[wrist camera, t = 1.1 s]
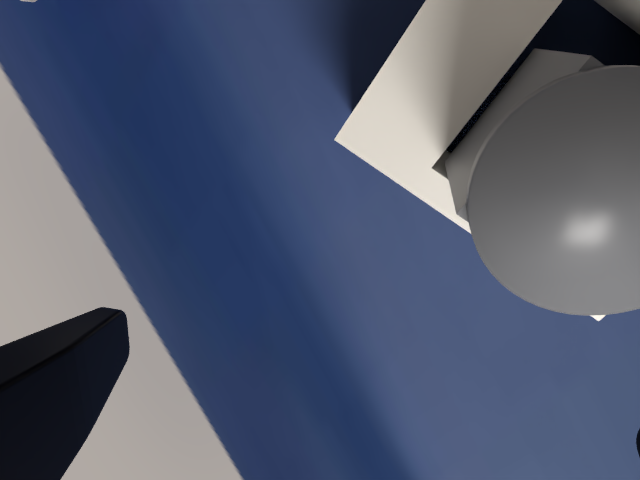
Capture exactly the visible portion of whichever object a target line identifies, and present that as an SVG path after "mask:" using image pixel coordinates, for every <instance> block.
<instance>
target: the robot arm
mask: <svg viewBox="0 0 640 480" xmlns="http://www.w3.org/2000/svg"><path fill="white" fill-rule="evenodd" d="M128 356H129V337H128V327H127V318H126V315H125V313H124V312H123V311H122V310H118V309H111V308H105V307H101V308H97V309H95V310H92V311H90V312H87V313H85V314H82V315H80V316H77V317H75V318H72V319H69V320H67V321H64V322H62V323H59V324H56V325H54V326H52V327H49V328H46V329H44V330H41V331H39V332H36V333H34V334H31V335H28V336H26V337H23V338H21V339H18V340H16V341H13V342H11V343H8V344H5V345H3V346H0V480H60V479H61V478H62V476H63V475H64V473H65V472H66V470H67V469H68V467H69V465H70V464H71V463H72V461H73V459H74V458H75V456H76V455H77V453H78V452H79V450H80V449H81V447H82V445H83V444H84V442H85V441H86V439H87V437H88V435H89V434H90V432H91V430H92V428H93V426H94V424H95V423H96V421H97V419H98V417H99V415H100V413H101V411H102V409H103V407H104V405H105V403H106V401H107V399H108V397H109V395H110V393H111V391H112V389H113V387H114V385H115V383H116V381H117V380H118V378H119V376H120V374H121V372H122V370H123V367H124V365H125V364H126V362H127V359H128ZM636 444H637V450H638V454H639V457H640V429H639V431H638V433H637V438H636Z"/></svg>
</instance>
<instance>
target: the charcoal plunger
mask: <svg viewBox="0 0 640 480" xmlns="http://www.w3.org/2000/svg"><path fill="white" fill-rule="evenodd" d="M445 167H446V171H447V175H448V180H449V184H450V189H451V193H452V197H453V202H454V206H455V210H456V214H457V215H458V216H460V217H461V218H463V219H464V220H466V221H467V222H469V227H470V230H471V234H472V237H473V240H474V243H475V246H476V249H477V251H478V253H479V255H480V257H481V259H482V261H483V263H484V264H485V265H486V267H487V268H488V269H489V271H490V272H491V274H492V275H493V276H494V277H495V278H496V279H497V280H498V281H499V282H500V283H501V284H502V285H503V286H505V287H506V288H507V289H508V290H510V291H511V292H512V293H514V294H515V295H517V296H519V297H520V298H522V299H524V300H525V301H527V302H530V303H532V304H534V305H537V306H539V307H542V308H545V309H548V310H552V311H555V312H561V313H566V314H573V315H587V316H589V315H608V314H616V313H623V312H627V311H631V310H635V309H639V308H640V66H634V65H610V66H605V65H604V64H602V63H601V62H599V61H598V60H597V59H595V58H594V57H593V56H591V55H583V54H575V53H567V52H559V51H551V50H544V49H536V48H534V49H533V51H532V52H531V53H530V54H529V56H528V57H527V58H526V59H525V61H524V62H523V63H522V64H521V66H520V67H519V68H518V70H517V71H516V72H515V73H514V75H513V76H512V77H511V78H510V80H509V81H508V82H507V83H506V85H505V86H504V87H503V88H502V90H501V91H500V92H499V94H498V95H497V96H496V97H495V99H494V100H493V101H492V102H491V104H490V105H489V106H488V107H487V109H486V110H485V111H484V112H483V114H482V115H481V116H480V118H479V119H478V120H477V121H476V123H475V124H474V125H473V126H472V128H471V129H470V130H469V131H468V133H467V134H466V135H465V136H464V138H463V139H462V140H461V142H460V143H459V144H458V145H457V147H456V148H455V149H454V150H453V152H452V153H451V154H450V155H449V157H448V158H447V159H446V160H445Z"/></svg>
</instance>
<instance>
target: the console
mask: <svg viewBox="0 0 640 480" xmlns="http://www.w3.org/2000/svg"><path fill="white" fill-rule="evenodd" d="M594 1H595V2H597V3H598V4H599V5H601V6H602V7H603V8H605V9H606V10H607V11H609V12H610V13H611V14H613V15H614V16H615V17H617V18H618V19H619V20H621V21H622V22H623V23H625V24H626V25H627V26H629V27H630V28H631V29H633V30H634V31H635V32H637V33H638V34H639V35H640V0H594ZM561 2H562V0H426V1H425V2H424V4H423V5H422V7H421V8H420V10H419V11H418V13H417V14H416V16H415V17H414V19H413V21H412V22H411V24H410V25H409V27H408V28H407V30H406V31H405V33H404V34H403V36H402V37H401V39H400V40H399V42H398V43H397V45H396V46H395V48H394V49H393V51H392V53H391V54H390V56H389V57H388V59H387V60H386V62H385V63H384V65H383V66H382V68H381V69H380V71H379V72H378V74H377V75H376V77H375V78H374V80H373V82H372V83H371V85H370V86H369V88H368V89H367V91H366V92H365V94H364V95H363V97H362V98H361V100H360V101H359V103H358V104H357V106H356V107H355V109H354V110H353V112H352V114H351V115H350V117H349V118H348V120H347V121H346V123H345V124H344V126H343V127H342V129H341V130H340V132H339V133H338V135H337V136H336V138H335V139H334V140H335V141H337V142H338V143H340V144H341V145H343V146H344V147H346V148H347V149H348V150H350V151H351V152H353V153H354V154H356V155H357V156H359V157H360V158H362V159H363V160H364V161H366V162H367V163H369V164H370V165H372V166H373V167H375V168H376V169H378V170H379V171H380V172H382V173H383V174H385V175H386V176H388V177H389V178H391V179H392V180H394V181H395V182H396V183H398V184H399V185H401V186H402V187H404V188H405V189H407V190H408V191H410V192H411V193H412V194H414V195H415V196H417V197H418V198H420V199H421V200H423V201H424V202H426V203H427V204H429V205H430V206H431V207H433V208H434V209H436V210H437V211H439V212H440V213H442V214H443V215H445V216H446V217H447V218H449V219H450V220H452V221H453V222H455V223H456V224H458V225H459V226H461V227H462V228H463V229H465V230H466V231H468V232H469V233H471V230H470V227H469V222H467V221H466V220H464V219H463V218H461V217H460V216H458V215H457V214H456V210H455V206H454V202H453V197H452V193H451V189H450V184H449V180H448V175H447V171H446V167H445V160H446V159H447V158H448V157H449V155H450V154H451V153H450V152H449V151H447V150H446V149H447V147H448V146H449V145H450V144H451V142H452V141H453V140H454V138H455V137H456V136H457V135H458V133H459V132H460V131H461V130H462V128H463V127H464V126H465V124H466V123H467V122H468V121H469V119H470V118H471V117H472V115H473V114H474V113H475V112H476V110H477V109H478V108H479V107H480V105H481V104H482V103H483V101H484V100H485V99H486V98H487V96H488V95H489V94H490V92H491V91H492V90H493V89H494V87H495V86H496V85H497V84H498V82H499V81H500V80H501V78H502V77H503V76H504V75H505V73H506V72H507V71H508V69H509V68H510V67H511V66H512V64H513V63H514V62H515V61H516V59H517V58H518V57H519V55H520V54H521V53H522V52H523V50H524V49H525V48H526V46H527V45H528V44H529V43H530V41H531V40H532V39H533V38H534V36H535V35H536V34H537V32H538V31H539V30H540V29H541V27H542V26H543V25H544V23H545V22H546V21H547V20H548V18H549V17H550V16H551V15H552V13H553V12H554V11H555V9H556V8H557V7H558V6H559V4H560V3H561ZM590 316H592V317H593V318H594V319H596V320H597V321H600V320H601V319H602V318H603V317H604V316H605V315H590Z"/></svg>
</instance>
